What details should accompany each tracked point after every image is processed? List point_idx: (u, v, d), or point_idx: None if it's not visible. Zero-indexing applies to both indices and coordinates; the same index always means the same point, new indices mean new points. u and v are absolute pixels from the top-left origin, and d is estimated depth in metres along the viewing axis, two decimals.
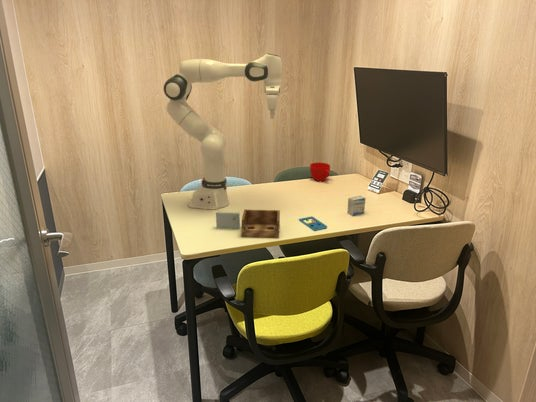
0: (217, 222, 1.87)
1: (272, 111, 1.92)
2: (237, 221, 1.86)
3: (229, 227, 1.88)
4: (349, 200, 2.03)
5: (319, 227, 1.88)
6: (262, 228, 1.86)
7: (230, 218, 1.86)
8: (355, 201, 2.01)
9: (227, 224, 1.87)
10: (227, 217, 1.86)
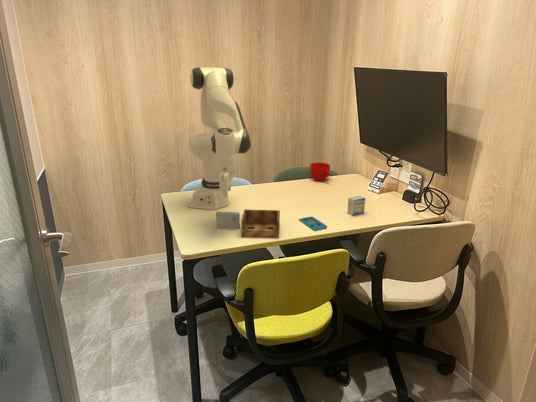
0: (217, 222, 1.87)
1: None
2: (237, 221, 1.86)
3: (229, 227, 1.88)
4: (349, 200, 2.03)
5: (319, 227, 1.88)
6: (262, 228, 1.86)
7: (230, 218, 1.86)
8: (355, 201, 2.01)
9: (227, 224, 1.87)
10: (227, 217, 1.86)
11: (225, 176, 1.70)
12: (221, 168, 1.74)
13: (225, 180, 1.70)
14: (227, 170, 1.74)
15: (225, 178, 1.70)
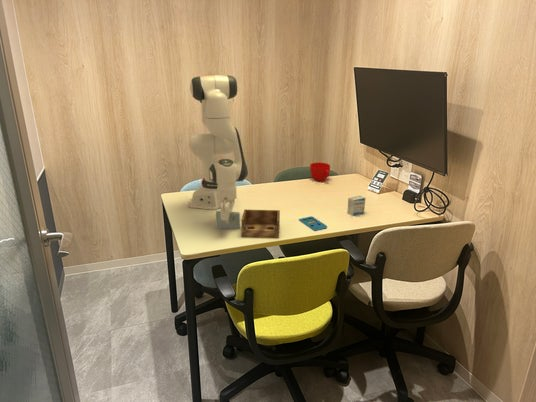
0: (217, 222, 1.87)
1: None
2: (237, 221, 1.86)
3: (229, 227, 1.88)
4: (349, 200, 2.03)
5: (319, 227, 1.88)
6: (262, 228, 1.86)
7: (230, 218, 1.86)
8: (355, 201, 2.01)
9: (227, 224, 1.87)
10: None
11: (226, 207, 1.75)
12: (222, 198, 1.79)
13: (226, 210, 1.75)
14: (228, 200, 1.79)
15: (226, 209, 1.75)
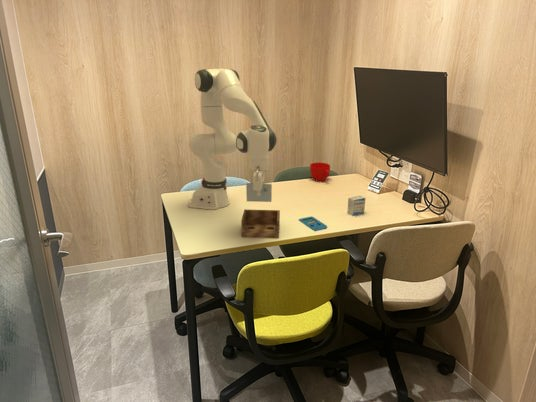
0: (248, 195, 1.74)
1: None
2: (269, 193, 1.73)
3: (260, 200, 1.74)
4: (349, 200, 2.03)
5: (319, 227, 1.88)
6: (262, 228, 1.86)
7: (262, 190, 1.73)
8: (355, 201, 2.01)
9: (258, 197, 1.74)
10: None
11: (259, 175, 1.62)
12: (254, 167, 1.66)
13: (259, 180, 1.62)
14: (260, 169, 1.66)
15: (259, 177, 1.62)
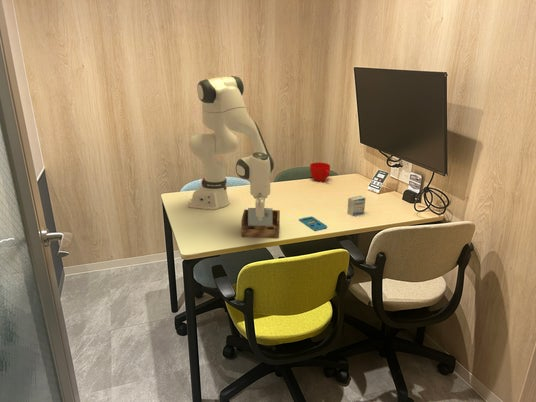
0: (249, 219, 1.78)
1: None
2: (270, 218, 1.77)
3: (261, 224, 1.79)
4: (349, 200, 2.03)
5: (319, 227, 1.88)
6: (262, 228, 1.86)
7: None
8: (355, 201, 2.01)
9: (260, 221, 1.78)
10: None
11: (261, 202, 1.66)
12: (256, 194, 1.70)
13: (261, 207, 1.66)
14: (262, 196, 1.70)
15: (261, 204, 1.66)
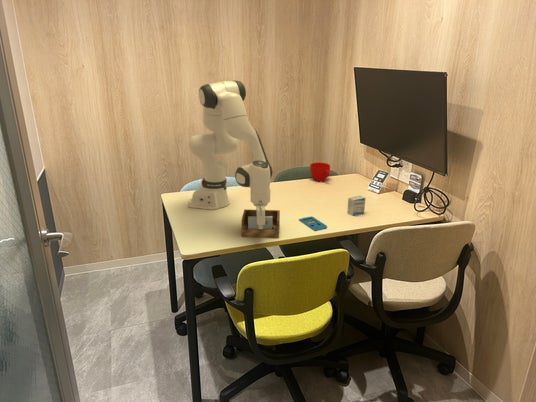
0: (250, 228, 1.79)
1: None
2: (270, 225, 1.79)
3: None
4: (349, 200, 2.03)
5: (319, 227, 1.88)
6: None
7: None
8: (355, 201, 2.01)
9: None
10: None
11: (263, 210, 1.67)
12: (257, 201, 1.71)
13: (263, 214, 1.67)
14: (263, 203, 1.71)
15: (263, 212, 1.67)
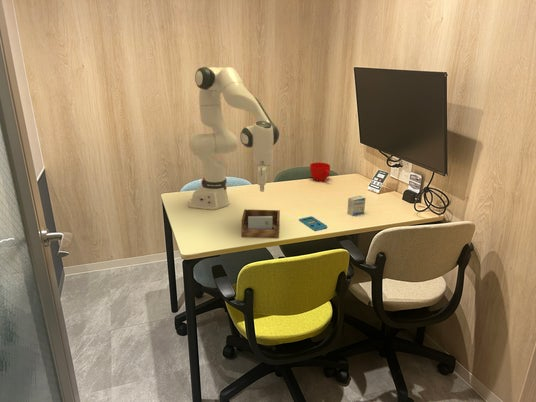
0: (250, 228, 1.79)
1: None
2: (270, 225, 1.79)
3: None
4: (349, 200, 2.03)
5: (319, 227, 1.88)
6: None
7: (263, 223, 1.78)
8: (355, 201, 2.01)
9: None
10: (259, 222, 1.78)
11: (263, 170, 1.69)
12: (259, 162, 1.72)
13: (263, 174, 1.69)
14: (265, 164, 1.73)
15: (263, 172, 1.69)
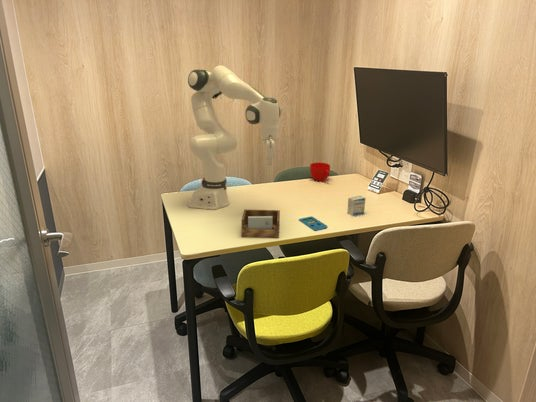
0: (250, 228, 1.79)
1: None
2: (270, 225, 1.79)
3: None
4: (349, 200, 2.03)
5: (319, 227, 1.88)
6: None
7: (263, 223, 1.78)
8: (355, 201, 2.01)
9: None
10: (259, 222, 1.78)
11: (272, 143, 1.77)
12: (266, 136, 1.81)
13: (272, 147, 1.77)
14: (272, 138, 1.81)
15: (272, 145, 1.77)
